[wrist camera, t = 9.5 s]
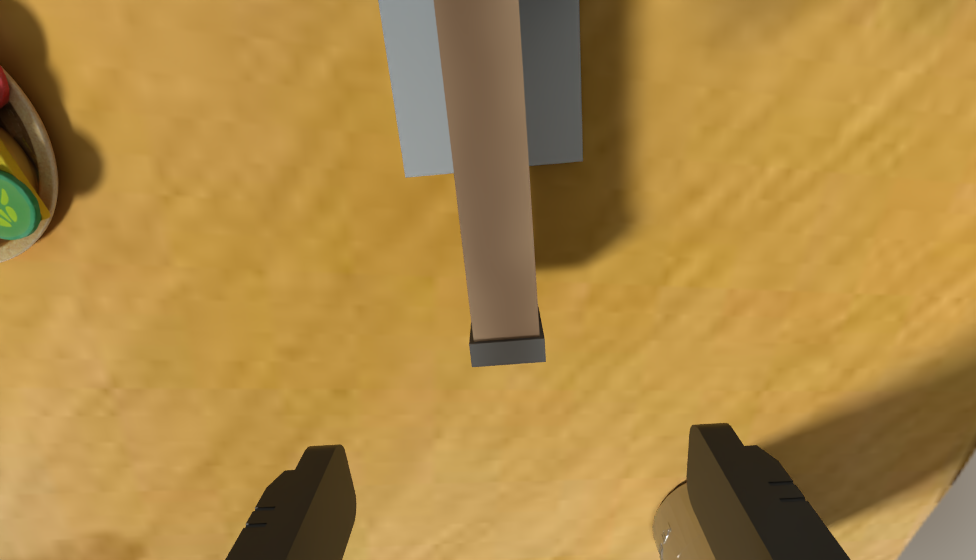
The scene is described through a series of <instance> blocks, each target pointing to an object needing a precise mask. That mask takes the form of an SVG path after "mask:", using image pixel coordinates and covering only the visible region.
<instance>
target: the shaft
mask: <svg viewBox="0 0 976 560" xmlns="http://www.w3.org/2000/svg"><path fill="white" fill-rule="evenodd" d="M434 9H435V17H436V26H437V34H438V42H439V51H440V59H441V68H442V76H443V85H444V93H445V102H446V110H447V119H448V127H449V136H450V144H451V153H452V161H453V170H454V178H455V187H456V195H457V204H458V212H459V221H460V229H461V238H462V246H463V254H464V263H465V271H466V280H467V288H468V297H469V305H470V314H471V331H470V342H469V346H470V355H471V363H472V367H481V366H495V365H508V364H521V363H535V362H546V356H545V339H544V333H543V328H542V323H541V318H540V313H539V307H538V302H537V286H536V270H535V254H534V238H533V223H532V207H531V191H530V175H529V159H528V143H527V127H526V111H525V95H524V79H523V63H522V47H521V31H520V15H519V0H434Z"/></svg>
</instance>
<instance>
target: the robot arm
mask: <svg viewBox="0 0 976 560" xmlns="http://www.w3.org/2000/svg"><path fill="white" fill-rule="evenodd" d="M355 515H356V495H355V490H354V486H353V482H352V478H351V474H350V469H349V465H348V461H347V457H346V453H345V449H344V447H343V446H342V445H323V446H310V447H308V448H307V449H306V450H305V452H304V454H303V456H302V457H301V459H300V461H299V463H298V465H297V467H296V469H295V470H287V471H284V472H283V473H282V474H281V475H280V476H279V477H278V478H276V479H275V480H274V481H273V482H272V483H271V484H270V485H269V486H268V487H267V488H266V490H265V491H264V493H263V495H262V497H261V498H260V500H259V502H258V504H257V505H256V507H255V511H253V512H252V514H251V516H250V517H249V519H248V521H247V523H246V528H243V530H242V531H241V533H240V535H239V537H238V538H237V540H236V542H235V544H234V545H233V547H232V549H231V551H230V552H229V554H228V556H227V558H226V559H225V560H342V558H343V555H344V552H345V549H346V546H347V543H348V540H349V537H350V534H351V531H352V528H353V525H354V521H355ZM653 536H654V540H655V543H656V546H657V549H658V552H659V554H660V559H661V560H850V558H849V557H848V556H847V554H846V553H845V552H844V550H843V549H842V547H841V546H840V545H839V543H838V542H837V541H836V539H835V538H834V536H833V535H832V534H831V532H830V531H829V530H828V528H827V527H826V526H825V524H824V523H823V521H822V520H821V519H820V517H819V516H818V515H817V513H816V512H815V510H814V509H813V508H812V506H811V505H810V504H809V502H808V501H805V497H804V495H803V494H802V493H801V491H800V490H799V489H798V487H797V486H796V485H794V484H793V480H792V479H791V478H790V476H789V475H788V474H787V472H786V471H785V469H784V468H783V467H782V465H781V464H780V463H779V461H777V460H776V459H775V458H773V457H772V456H771V455H769V454H768V453H767V452H765V451H764V450H762V449H761V448H760V447H758V446H757V445H753V446H744V445H743V444H742V442H741V441H740V439H739V438H738V436H737V435H736V433H735V432H734V430H733V429H732V427H731V426H730V425H729V424H727V423H717V424H700V425H692V426H691V428H690V434H689V449H688V464H687V483H685V484H683V485H682V486H680V487H678V488H677V489H676V490H674V491H673V492H672V493H671V494H670V495H669V496H667V497H666V499H665V500H664V501H663V503H662V504H661V505H660V506H659V508H658V510H657V513H656V515H655V517H654V522H653Z"/></svg>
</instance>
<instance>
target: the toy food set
mask: <svg viewBox="0 0 976 560" xmlns="http://www.w3.org/2000/svg"><path fill="white" fill-rule="evenodd" d="M57 196H58V171H57V165H56V159H55V155H54V151H53V148H52V145H51V142H50V139H49V136H48V134H47V131H46V129H45V127H44V125H43V122H42V120H41V119H40V117H39V115H38V113H37V111H36V110H35V108H34V107H33V105H32V103H31V102H30V100H29V99H28V97H27V96H26V95H25V93H24V92H23V91H22V89H21V88H20V87H19V85H18V84H17V83H16V82H15V81H14V80H13V78H12V77H11V76H10V75H9V74H8V73H7V72H6V71H5V70H4V69H3V68H2V67H1V66H0V262H3V261H7V260H9V259H12V258H14V257H16V256H18V255H20V254H21V253H23V252H25V251H26V250H27V249H29V248H30V247H31V246H32V245H33V244H34V243H35V242H36V241H37V240H38V239H39V238H40V237H41V236H42V234H43V233H44V232H45V230H46V229H47V227H48V225H49V223H50V222H51V219H52V217H53V214H54V211H55V207H56V203H57Z"/></svg>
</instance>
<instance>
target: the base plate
mask: <svg viewBox="0 0 976 560" xmlns="http://www.w3.org/2000/svg"><path fill="white" fill-rule="evenodd" d="M378 2H379V8H380V15H381V21H382V28H383V34H384V41H385V47H386V54H387V60H388V67H389V73H390V80H391V86H392V93H393V99H394V106H395V112H396V119H397V125H398V132H399V138H400V145H401V151H402V158H403V164H404V171H405V177H417V176H427V175H438V174H449V173H454V170H453V161H452V153H451V144H450V136H449V127H448V119H447V110H446V102H445V93H444V85H443V76H442V68H441V59H440V51H439V42H438V34H437V26H436V17H435V9H434V0H378ZM519 15H520V31H521V47H522V63H523V79H524V95H525V111H526V127H527V143H528V159H529V166H536V165H546V164H557V163H568V162H579V161H583V144H582V101H581V58H580V14H579V0H519Z"/></svg>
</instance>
